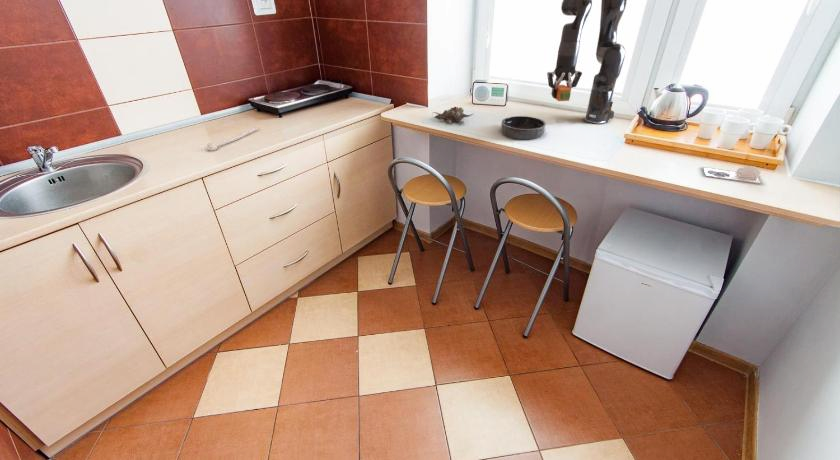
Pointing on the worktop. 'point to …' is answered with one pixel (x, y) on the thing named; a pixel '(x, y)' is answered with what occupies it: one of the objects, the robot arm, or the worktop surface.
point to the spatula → (213, 145)
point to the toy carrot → (563, 93)
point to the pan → (523, 127)
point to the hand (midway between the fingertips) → (560, 97)
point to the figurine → (452, 115)
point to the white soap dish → (736, 174)
